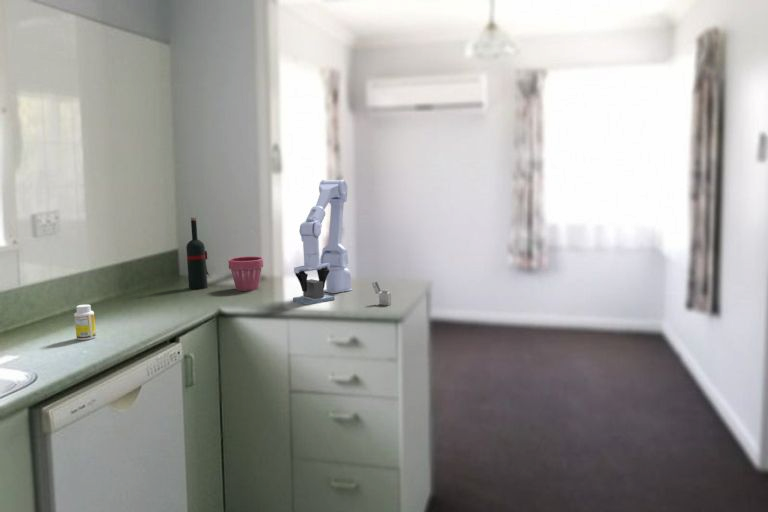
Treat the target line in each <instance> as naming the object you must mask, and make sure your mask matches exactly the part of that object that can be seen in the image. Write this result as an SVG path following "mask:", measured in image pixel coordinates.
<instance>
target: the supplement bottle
mask: <svg viewBox="0 0 768 512" xmlns="http://www.w3.org/2000/svg"><path fill="white" fill-rule="evenodd" d="M91 307H92V306H91V304H79V305H77V306H76V312H74V325H75V335H76V336H75V337H76V339H77V341H78V340H79V341H89V340H93V339H95V338H96V337H97V331H96V329H97V328H96V321H95V312H94V311H93V310H92V308H91Z"/></svg>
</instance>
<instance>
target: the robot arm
mask: <svg viewBox="0 0 768 512" xmlns="http://www.w3.org/2000/svg"><path fill="white" fill-rule="evenodd" d="M348 189H349V187H348V185H347V182H346V180H345V179H330V180H329V179H328V180H327V179H322V180H321V181H320V182H319V186H318V190H319V191H318V192H319V195H318V199H317V201H316V204H315V206H312V207H311V209H310V211H309V213H308V215H307V216H306V219H305V221H302V222H301V224H300V226H299V230H298V231H299V234H300V237H301V238H300V240H301V242H302V244H303V245H302V247H303V265H301V266H297V267H296V266H295V267H293V273H294V274H295V277H296V278H297V280H298V282H299V284H300V287H301V291H302V292H303V291H304V292H306V291H307V280H308V276H309V274H308V273H306V272H313V271H316V273H317V277H318V281H323V289H324V292H326V293H329V294H336V293H343V292H344V293H345V292H349V291H353V289H352V282H351V281H352V277H351V271H350V270H349V268H347V266H348V264H349V258H348V249H347V248H345V246H343V244H342V236H343V235H342V234H343V218H344V207H345V202H347V201H348ZM328 204H330V213H329V215H330V216H329V229H328V244H326V245H325V246H324V247H323V248H322V249H321V250H322V251H321V255H320V246H319V245H320V242H319V241H320V240H319V237H320V235H321V233H322V223H323V221H324V219H325V216H326V211H325V209H326V207H327V206H328ZM325 286H326V288H325Z"/></svg>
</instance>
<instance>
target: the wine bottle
mask: <svg viewBox="0 0 768 512" xmlns="http://www.w3.org/2000/svg"><path fill="white" fill-rule="evenodd" d="M190 226H191V240H190V241H188V242H187V244H186V246H185V248H186V262H187V264H186V265H187V279H188V290H193V291H194V290H204V289H208V276H209V275H210V273H209V271H208V269H207V268H208V267H207V262H206V261H207V260H208V252H207V250H205V247H206V246H205V243H204V242H202V240H200V239H198V227H197V226H198V225H197V217H196V216H195V217H192V216H191V217H190Z"/></svg>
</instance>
